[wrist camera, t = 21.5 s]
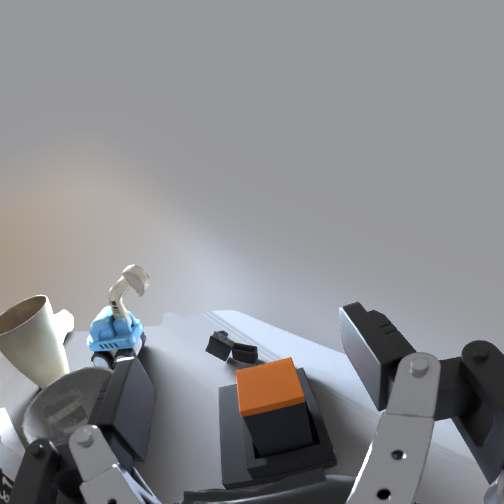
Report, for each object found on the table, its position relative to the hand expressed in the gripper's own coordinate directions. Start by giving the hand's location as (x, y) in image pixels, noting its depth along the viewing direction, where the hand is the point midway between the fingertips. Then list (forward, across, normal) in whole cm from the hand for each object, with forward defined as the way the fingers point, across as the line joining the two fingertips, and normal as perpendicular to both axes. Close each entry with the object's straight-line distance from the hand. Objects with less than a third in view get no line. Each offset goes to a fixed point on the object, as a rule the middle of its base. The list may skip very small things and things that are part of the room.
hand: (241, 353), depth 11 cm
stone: (+53, -55, -24) cm, 80 cm away
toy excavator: (+36, -24, -24) cm, 50 cm away
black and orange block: (+11, 0, -22) cm, 25 cm away
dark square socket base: (+14, -1, -24) cm, 28 cm away
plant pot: (+32, -43, -24) cm, 59 cm away
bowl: (+16, -27, -24) cm, 40 cm away
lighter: (+30, -5, -24) cm, 39 cm away
